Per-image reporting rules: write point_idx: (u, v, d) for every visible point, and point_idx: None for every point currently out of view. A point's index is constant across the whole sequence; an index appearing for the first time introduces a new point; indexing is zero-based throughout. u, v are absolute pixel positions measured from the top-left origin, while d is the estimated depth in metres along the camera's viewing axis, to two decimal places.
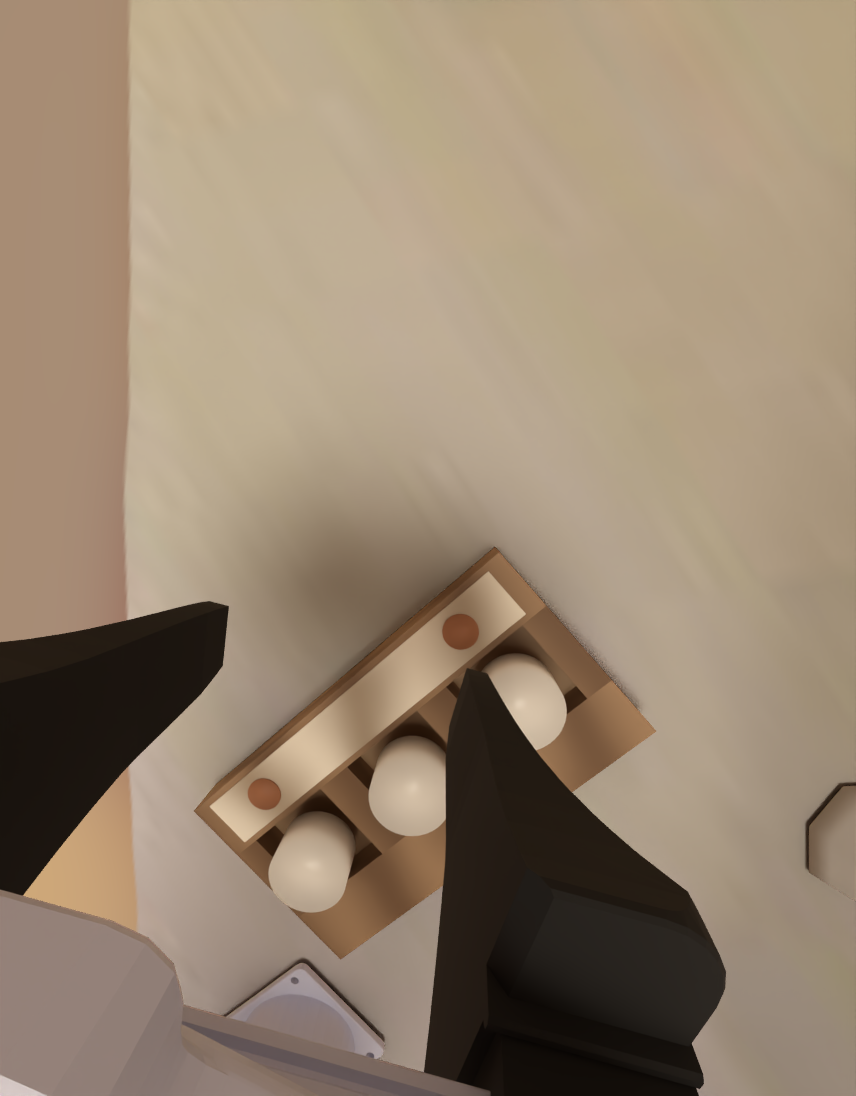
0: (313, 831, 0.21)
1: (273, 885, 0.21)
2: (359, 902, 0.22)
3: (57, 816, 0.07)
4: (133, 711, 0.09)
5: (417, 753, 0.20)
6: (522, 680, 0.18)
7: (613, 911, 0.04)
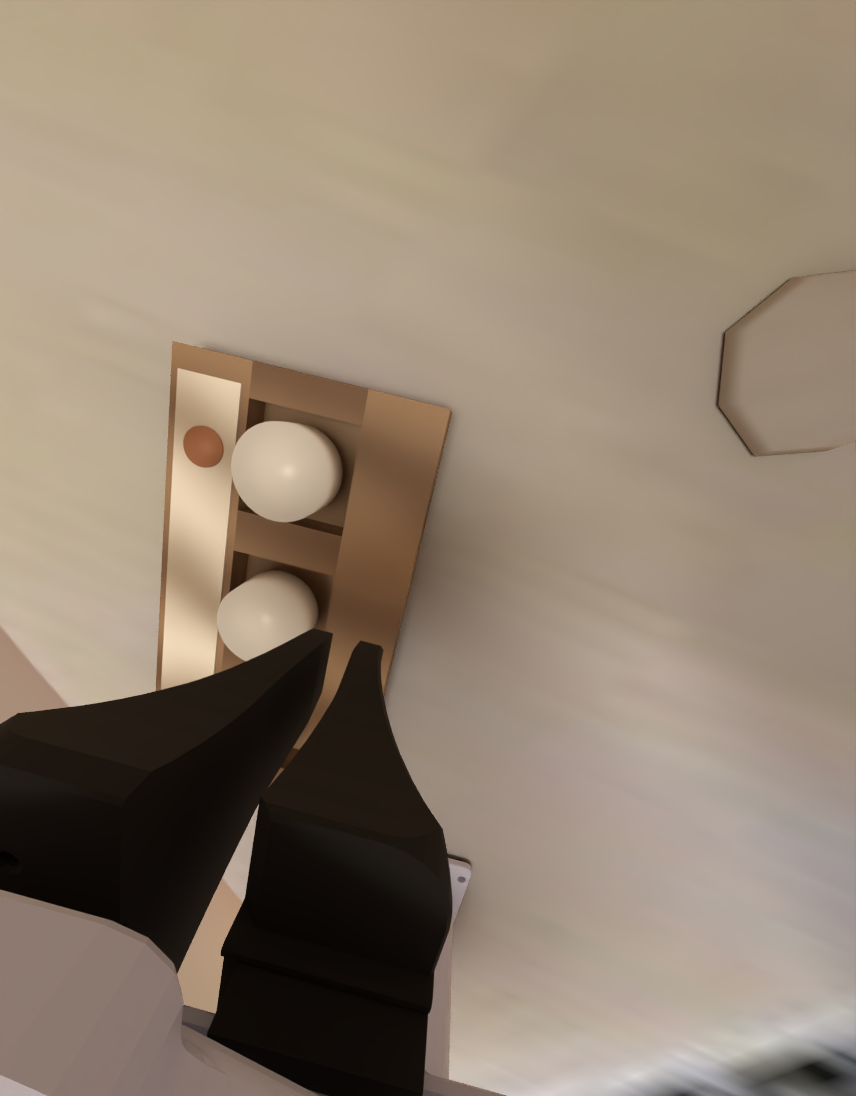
0: None
1: None
2: None
3: (218, 860, 0.07)
4: (269, 748, 0.09)
5: (243, 583, 0.18)
6: (254, 441, 0.16)
7: (332, 835, 0.04)
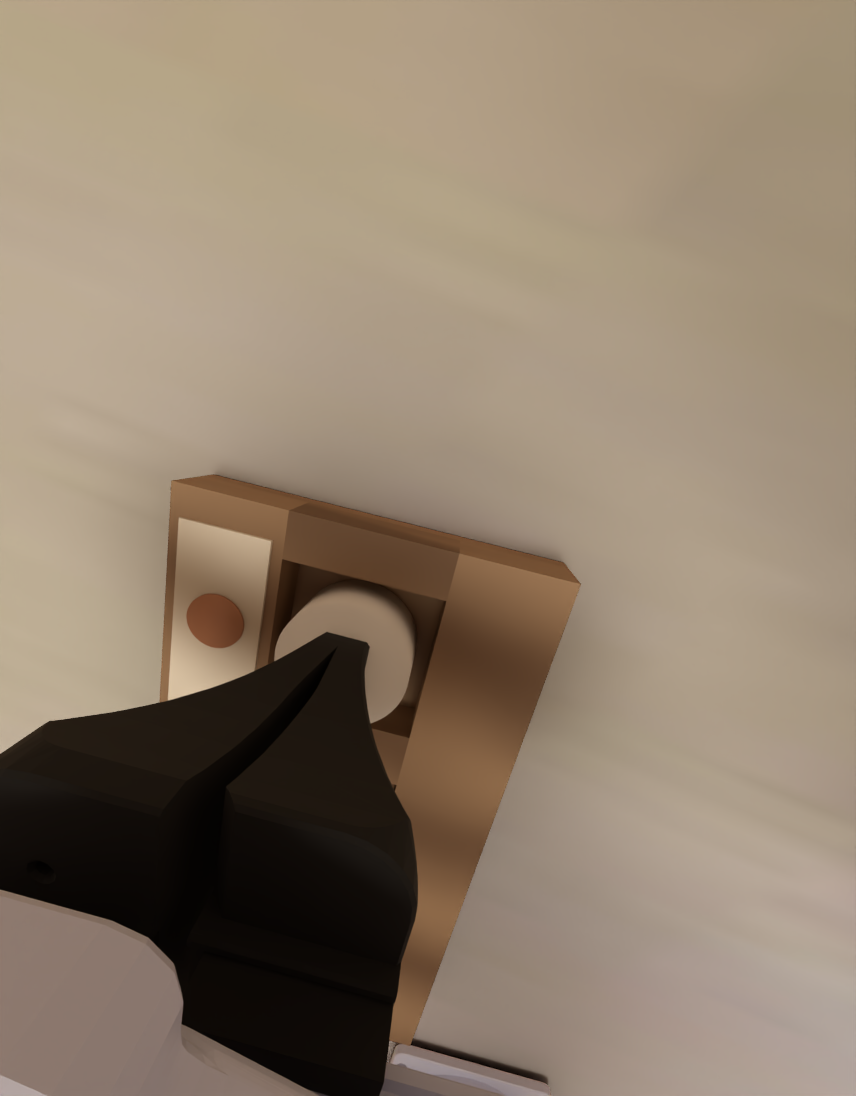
0: None
1: None
2: None
3: None
4: None
5: None
6: (307, 628, 0.11)
7: (295, 825, 0.04)
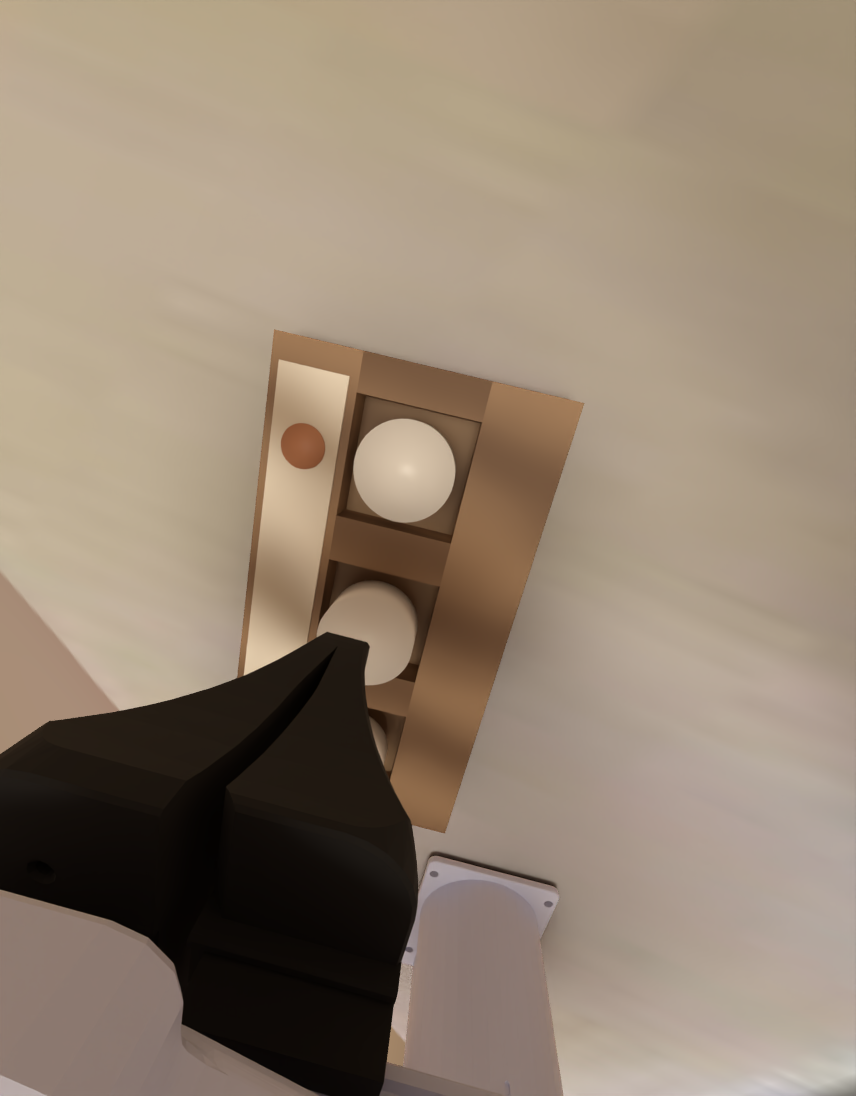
0: None
1: None
2: (421, 773, 0.20)
3: None
4: None
5: (345, 595, 0.17)
6: (379, 440, 0.15)
7: (295, 825, 0.04)
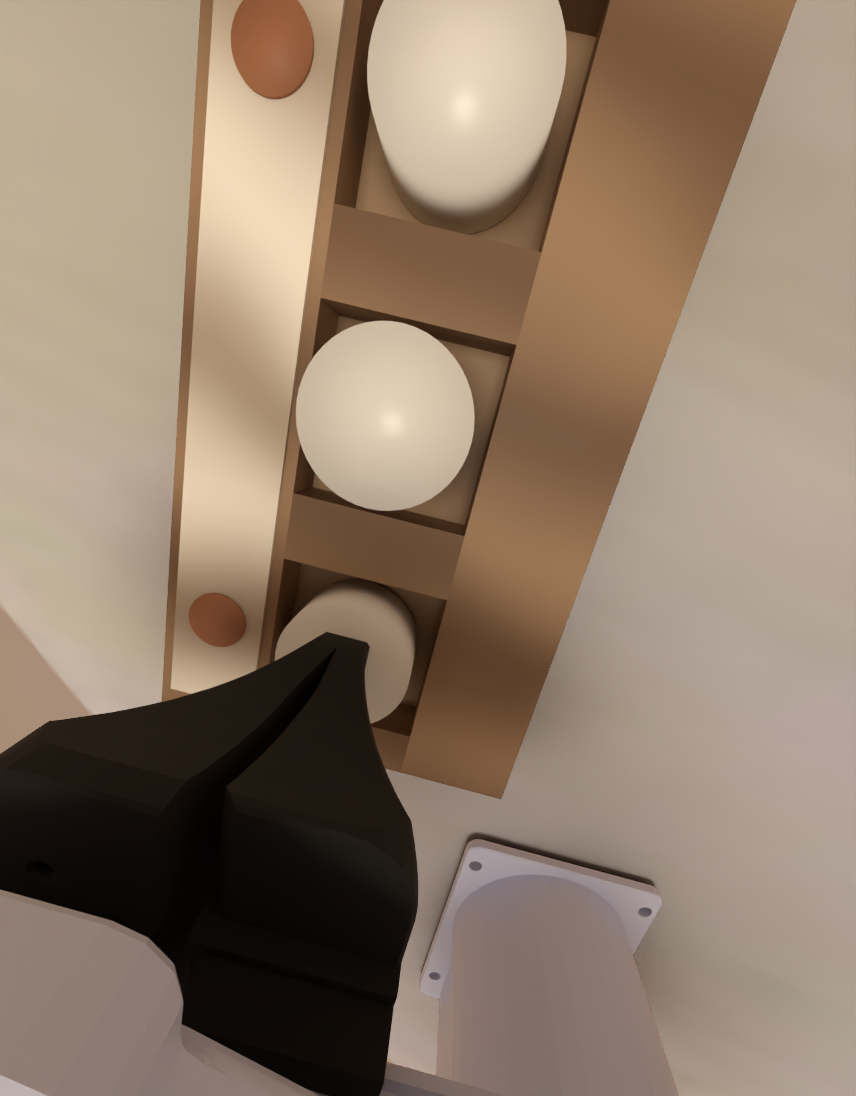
0: (311, 603, 0.12)
1: None
2: (468, 699, 0.13)
3: None
4: None
5: None
6: None
7: (295, 825, 0.04)
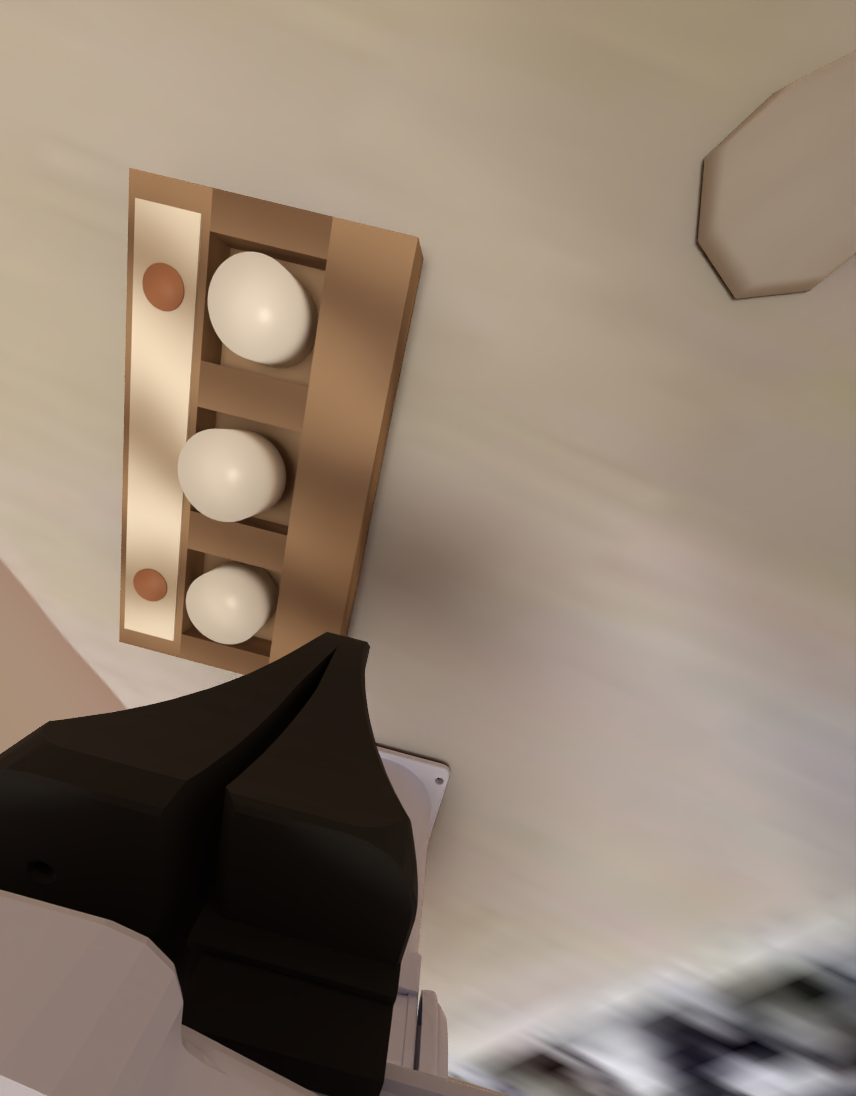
0: None
1: (208, 636, 0.21)
2: (300, 633, 0.21)
3: None
4: None
5: None
6: (229, 274, 0.16)
7: (295, 825, 0.04)
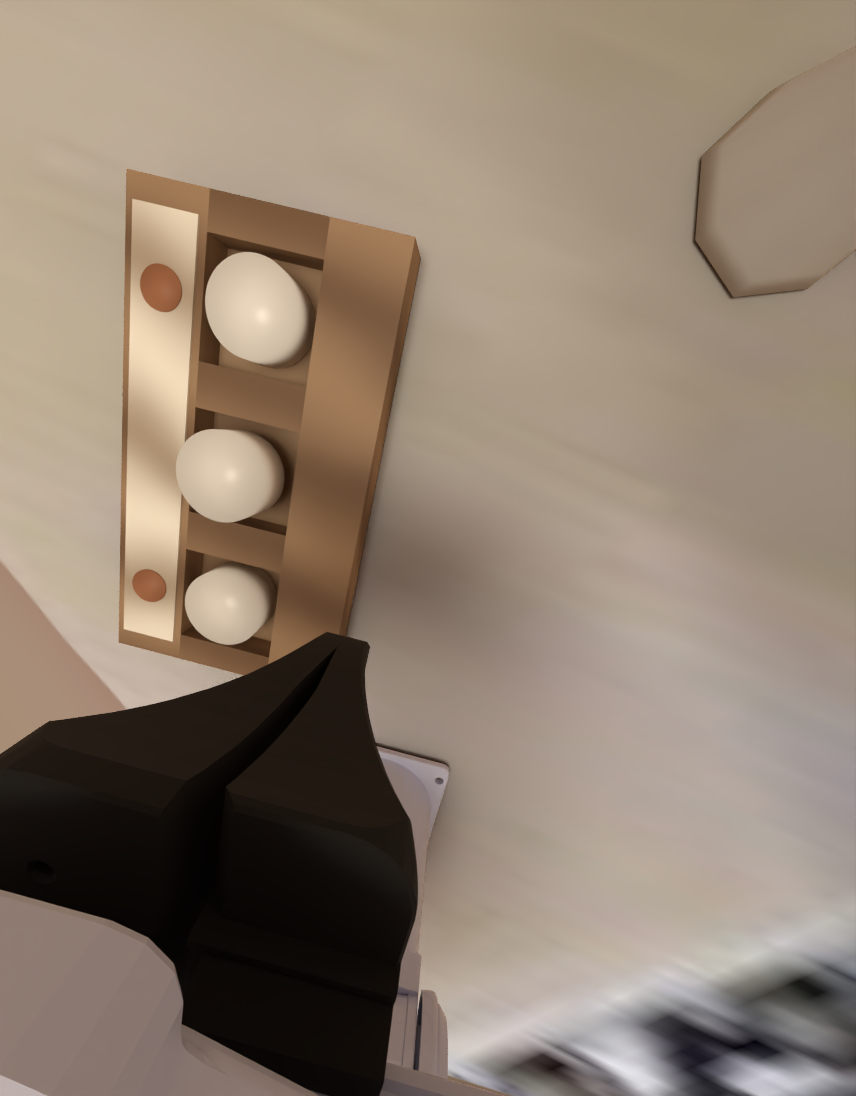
0: None
1: (208, 636, 0.21)
2: (299, 633, 0.21)
3: None
4: None
5: None
6: (227, 275, 0.16)
7: (295, 825, 0.04)
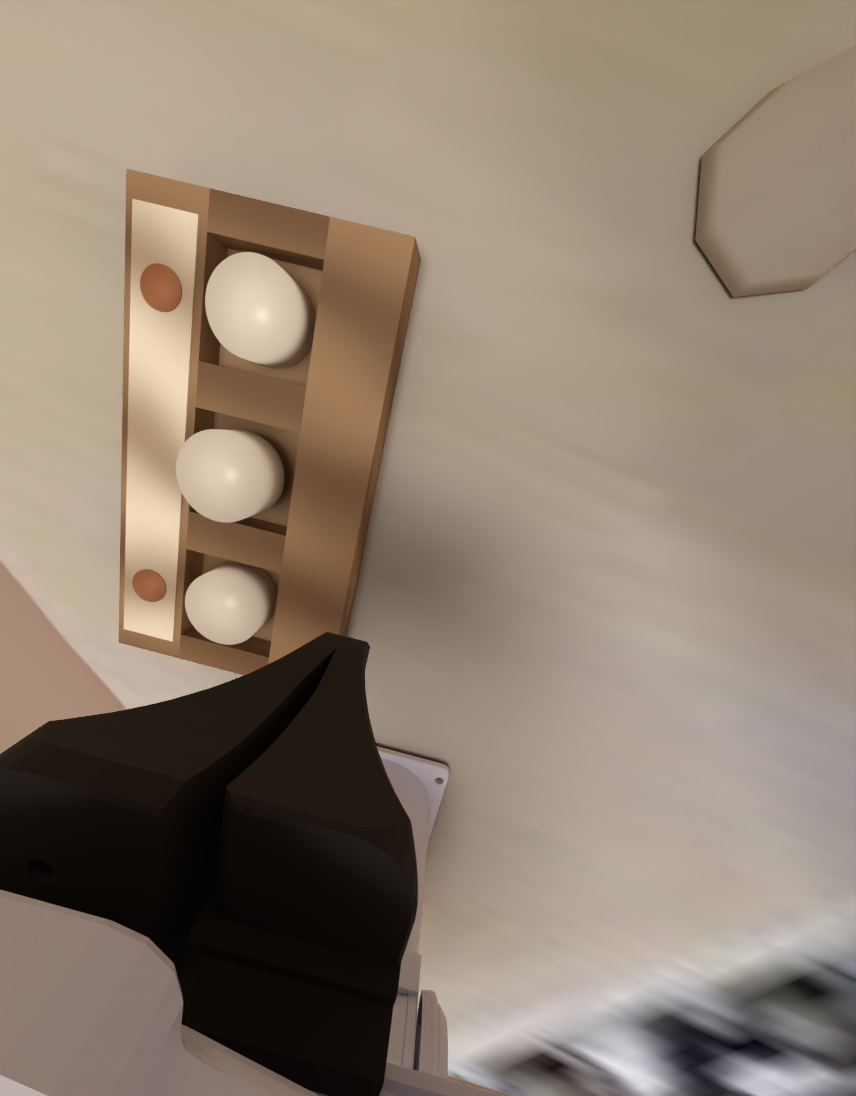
0: None
1: (208, 636, 0.21)
2: (299, 633, 0.21)
3: None
4: None
5: None
6: (227, 275, 0.16)
7: (295, 825, 0.04)
